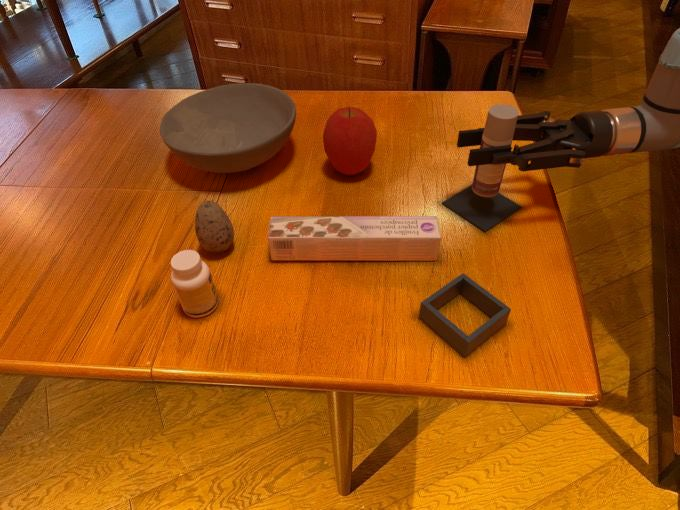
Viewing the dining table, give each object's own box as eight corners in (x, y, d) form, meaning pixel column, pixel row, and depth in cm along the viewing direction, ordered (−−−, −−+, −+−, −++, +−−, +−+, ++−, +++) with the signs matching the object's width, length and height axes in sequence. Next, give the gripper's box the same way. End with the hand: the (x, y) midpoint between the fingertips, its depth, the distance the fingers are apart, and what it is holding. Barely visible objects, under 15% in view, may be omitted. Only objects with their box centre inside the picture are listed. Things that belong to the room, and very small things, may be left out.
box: (434, 238, 82) (438, 213, 78) (438, 261, 78) (442, 235, 74) (273, 240, 83) (269, 215, 79) (270, 263, 79) (265, 238, 75)
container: (479, 177, 87) (496, 100, 76) (503, 187, 85) (524, 109, 74) (466, 190, 85) (482, 113, 74) (491, 200, 83) (511, 122, 72)
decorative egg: (242, 239, 83) (231, 193, 76) (228, 263, 79) (216, 217, 72) (210, 233, 84) (197, 188, 77) (195, 257, 80) (179, 212, 73)
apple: (384, 178, 94) (387, 113, 84) (335, 190, 92) (332, 125, 82) (364, 150, 101) (364, 87, 91) (318, 161, 99) (313, 97, 89)
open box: (505, 324, 70) (511, 309, 67) (464, 357, 66) (468, 343, 63) (459, 287, 74) (463, 272, 72) (418, 317, 71) (420, 302, 68)
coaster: (521, 208, 87) (522, 206, 87) (484, 232, 83) (485, 231, 83) (478, 182, 93) (478, 180, 92) (441, 204, 88) (442, 202, 88)
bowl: (263, 208, 89) (255, 163, 82) (145, 179, 96) (128, 135, 89) (320, 135, 106) (317, 92, 98) (216, 114, 113) (206, 73, 106)
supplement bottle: (225, 307, 73) (211, 263, 66) (191, 324, 71) (173, 280, 64) (210, 285, 76) (195, 240, 69) (177, 301, 74) (158, 256, 67)
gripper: (621, 184, 77) (478, 201, 75) (568, 125, 89) (444, 138, 87) (641, 143, 71) (487, 160, 69) (581, 86, 83) (450, 100, 82)
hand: (464, 148), depth 78 cm, fingers closed on container, 5 cm apart
